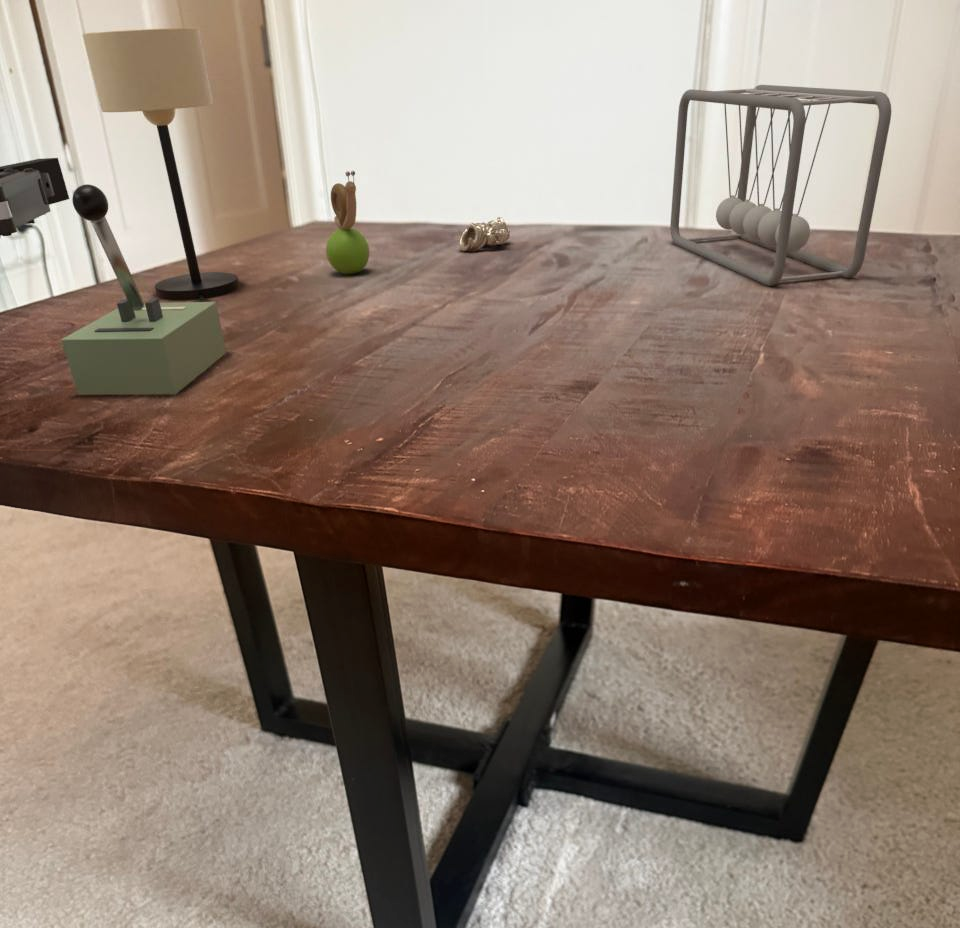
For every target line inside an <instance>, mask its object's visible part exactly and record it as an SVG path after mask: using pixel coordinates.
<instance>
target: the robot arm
mask: <svg viewBox="0 0 960 928" xmlns="http://www.w3.org/2000/svg"><path fill="white" fill-rule="evenodd" d="M67 200H70V196H69V192H68V189H67V185H66V182H65V179H64V174H63V171H62V168H61V164H60V160H59V157H47V158H35V159H31V160H26V161H21V162H16V163H11V164H7V165H1V166H0V236H2V237H10V236H12V235H13V234H15V233H17V232H18V228H19V227H22V226H23V225H29V224H33V225H35V224H36V221H35V220H36V219H37V218H40V217H42V216H45V215H46V214H48V213H50V212H51V208H50V205H53V204H58V203H61V202H64V201H67Z"/></svg>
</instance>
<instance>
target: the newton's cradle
mask: <svg viewBox="0 0 960 928" xmlns="http://www.w3.org/2000/svg"><path fill="white" fill-rule="evenodd" d="M691 101H695V102H704V103H713V104H722V105H724V120H725V121H724V122H725V139H726V157H727V159H726V160H727V176H728V191H729V192H728V193H729V197H726V198H724V199H723V200H722V201H721V202H720V203H719V204H718V206H717V208H716V212H715V220H716V222H717V224H718V226H720V228H722V229H724V230H728V231H730V230H732V231H733V232H734V233H732V234H722V235H710V236H699V237H687V238H685V237H683V236H681V233H680V217H681V216H680V215H681V202H682V191H683V189H682V188H683V177H684V165H685V164H684V163H685V152H686V150H685V149H686V137H687V123H688V112H689V111H688V110H689V105H690V102H691ZM849 103H851V104H862V105H875V106H877V108H878V121H877V125H876V131H875V137H874V143H873V148H872V153H871V158H870V164H869V170H868V176H867V180H866V185H865V192H864V197H863V202H862V208H861V213H860V219H859V223H858V224H859V225H858V229H857V235H856V241H855V245H854V252H853V255H852V262H851V264H850V265H849V266H847V265H843V264H840V263H838V262H835V261H831V260H829V259H827V258H824V257H821V256H818V255H815V254H812V253H810V252H807V251H804V250H801V249H803V248H804V247H805V246H806V244H807V242H809V239H810V236H811V229H810V227H811V226H810V224H809V222H808V220H806V219H805V217H803V216H801V215H800V212H801V208H802V205H803V201H804V197H805V194H806V191H807V187H808V184H809V181H810V177H811V174H812V170H813V168H814V167H813V166H814V163H815V159H816V156H817V153H818V150H819V145H820V142H821V138H822V135H823V132H824V129H825V125H826V122H827V117H828V114H829V111H830V108H831V105H833V104H834V105H835V104H849ZM727 105H732V106H733V105H734V106H738V116H739V117H738V118H739V120H738V121H739V137H740V138H739V140H740V141H739V142H740V159H741V160H740V161H741V162H740V170H739V171H740V172H739V179H738V183H737V187H736V191H735V194H734V195H732V193H731V191H732V190H731V173H730V160H729V159H730V156H729V155H730V153H729V138H728V137H729V135H728V119H727ZM818 105H828V106H827V109H826V112H825V116H824V120H823V123H822V127H821V130H820V134H819V137H818V142H817V144H816V148H815V151H814V154H813V158H812V161H811V166H810V168H809V173H808V176H807V179H806V183H805V186H804V189H803V193H802V197H801V200H800V204H799V207H798V210H797V213H794V206H795V197H796V193H797V184H798V179H799V172H800V171H799V170H800V165H801V163H800V162H801V158H802V150H803V142H804V137H805V129H806V124H807V120H808V116H809V113H810V109H811V106H818ZM741 106H744V107H746V115H745V125H744V132H743V133H744V135H742V116H741V115H742V114H741ZM806 106H808V109H807V112H806V110H805V107H806ZM760 108H761V109H770V121H769V125H768V128H767V132H766V135H765V139H764V143H763V146H762V149H761V150H762V151H761V154H760V157H758V133H757V119H758V115H759V112H760ZM775 110H780V111H787V119H786V123H785V126H784V131H783V133H782V136H781V137H782V138H781V141H780V145H779V148H778V151H777V155H776V159H775V161H774V132H773V131H774V129H773V118H774V114H775ZM791 113H792V119H793V121H792V122H793V123H792V130H791ZM677 116H678V117H677V127H676V142H675V157H674V170H673V183H672V184H673V185H672V198H671V209H670V210H671V212H670V224H669V225H670V227H669V228H670V230H669V231H670V236H671V237H670V238H671V240H672V242H673V244H675V245H676V246H678V247H680V248H682V249H685V250H686V251H689V252H692V253H694V254H696V255H698V256H700V257H703V258H704V259H707V260H709V261H711V262H713V263H716V264H718V265H720V266H722V267H724V268H727V269H728V270H731V271H734V272H735V273H737V274H740V275H741V276H744V277H746V278H749V279H751V280H753V281H755V282H758V283H760V284H762V285H764V286H767V287H774V286H776V285H778V283H779V282H789V281H798V280H806V279H807V280H808V279H818V278H826V277H827V278H828V277H836V276H837V277H838V276H839V277H842V278H845V279H852V278H853V277H855V276H856V275H857V274H858V273H859V272H860V271H861V268H862V267H863V264H864V261H865V256H866V250H867V246H868V245H867V244H868V241H869V235H870V230H871V224H872V219H873V213H874V209H875V203H876V200H877V199H876V198H877V193H878V189H879V188H878V187H879V182H880V177H881V174H882V173H881V172H882V166H883V163H884V156H885V151H886V146H887V140H888V136H889V130H890V129H889V128H890V125H891V119H892V104H891V101H890V98H889V96H888V95H887V94H886V92H885V93H884V92H882V91H875V90H859V89H858V90H857V89H842V88H841V89H840V88H827V87H826V88H825V87H809V86H808V87H807V86H806V87H805V86H792V85H775V84H758V85H756V86H755V87H754V88H742V89H741V88H740V89H727V90H705V89H704V90H701V89H693V88H690V89H687V90H685V92H684V93H682V95H681V97H680V101H679V105H678V113H677ZM787 127H788V151H789V154H788V159H787V160H788V162H787V169H786V176H785V182H784V183H785V184H784V189H783V194H782V198H781V201H780V205H779V207H777V208H776V207H775V205H776V204H775V201H776V199H775V170H776V166H777V164H778V163H777V162H778V160H779V156H780V153H781V149H782V146H783V145H782V144H783V142H784V138H785V134H786V131H787ZM791 131H792V132H791ZM769 133H770V135H771V137H770V139H771V141H770V143H771V176H770V180H769V184H768V187H767V190H766V195H765V198H764V202H763V203H760V188H759V169H760V165H761V162H762V158H763V154H764V150H765V147H766V144H767V140H768V136H769ZM754 137H755V138H754ZM753 140H755V164H756V165H755V169H756V172H755V176H754V179H753V183H752V187H751V191H750V194H749V198H748V199H747V193H748V184H749V175H750V165H751V158H752V150H753ZM758 158H759V159H758ZM758 160H759V161H758ZM755 184H756V190H757V193H756V194H757V204H756V203H754V202H752V201H751V198H752V194H753V192H754V188H755ZM771 185H772V209H773V210H772V209H771V208H770V207H768V206H766V202H767V199H768V196H769V191H770V188H771ZM799 215H800V216H799ZM729 238H740V239H741V240H744V241H747V242H749V243H752V244H754V245H757V246H760V247H763V248H765V249H768V250H770V251H773V252H775V255H774V264H773V269H772V272H771V274H769V273H767V272H764V271H762V270H760V269H757V268H755V267H752V266H751V265H748V264H746V263H743V262H741V261H739V260H736V259H734V258H732V257H729V256H728V255H725V254H722V253H720V252H718V251H715V250H714V249H710V248H709V247H706V246H703V245H702V244H699V243H697V242H699V241H708V240H719V239H729ZM787 257H788V258H791V259H794V260H797V261H799V262H801V263H805V264H807V265H810V266H812V267H814V268H818V269H820V270H823V271H825V272H823V273H812V274H811V273H810V274H803V275H802V274H801V275H792V276H783V275H784V271H785V268H786V261H787Z"/></svg>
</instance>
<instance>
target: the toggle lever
mask: <svg viewBox="0 0 960 928" xmlns="http://www.w3.org/2000/svg"><path fill="white" fill-rule="evenodd" d="M71 198H72V199H71V201H72V205H73V208H74V210H75V212H76V213H77V214H78V216H80V217H81V218H83V219H84V220H86V221H88V222H89V221H90V223H91V226H92V228H93V230H94V232H95V234H96V236H97V238H98V241H99V244H100V245H101V248H102V249H103V251H104V253H105V255H106V258H107V260H108V262H109V264H110V267H111V268H112V270H113V272H114V276H116V279H117V282H118V284H119V285H120V287H121V290H122V292H123V294H124V296H125V299H127V301H128V303H129V305H130V307H131V308H132V309H133V310H136V311H139V310H141V309H142V308H143V306H144V303H145V301H144V299H143V298H142V295H141V293H140V291H139V288H138V287H137V283H136V282H135V279H134V278H133V275H132V273H131V271H130V269H129V267H128V264H127V262H126V260H125V257H124V255H123V253H122V251H121V249H120V247H119V244H118V242H117V240H116V237H115V236H114V232H113V230H112V228H111V227H110V224H109V222H108V220H107V217H106V216H107V214H108V212H109V202H108V198H107V196H106V194H105V193H104V192H103V190H102V189H100V188H99V187H97V186H96V185H92V184H88V183H87V184H82V185H81V184H80V185H79V186H78V187H77V188H75V190H74V192H73V193H72V197H71Z"/></svg>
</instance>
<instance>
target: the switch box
mask: <svg viewBox="0 0 960 928" xmlns="http://www.w3.org/2000/svg"><path fill="white" fill-rule="evenodd" d="M116 306H117V308H116V309H113V310H112V311H110V312H109V313H107V314H105V315H102V316H100V317H99V318H97V319H95V320H94V321H91V322H90V323H88V324H87V325H84V326H83V327H81V328H79V329H78V330H75V331H74V332H72V333H70V334H69V335H67V336H65V337H63V338H61V339H60V342H61V345H62V348H63V351H64V354H65V358H66V360H67V364H68V366H69V370H70V373H71V376H72V379H73V383H74V385H75V389H76V392H77V395H78V396H79V395H81V396H85V395H86V396H94V395H96V396H97V395H99V396H100V395H101V396H103V395H104V396H105V395H110V396H111V395H115V396H116V395H119V396H121V395H123V396H124V395H177V394H178V393H179V392H180V391H181V390H183V389H184V388H185V387H186V386H188V385H189V384H190V383H191V382H192V381H194V380H195V379H196V378H197V377H199V376H200V375H202V373H204V372H205V371H206V370H207V369H209V368H210V367H211V366H212V365H213V364H215V363H216V362H217V361H218V360H219V359H221V358H222V357H224V356H225V355H226V354H227V349H226V344H225V340H224V335H223V330H222V329H223V328H222V325H221V324H222V323H221V320H220V316H219V310H218V306H217V302H216V301H206V302H200V301H191V302H190V301H186V302H185V301H183V302H181V301H179V302H160V298H159V297H155V298H154V297H153V298H150V299H149V300H147V301H144V306H143V308H142V309H141V310H139V311H136V310H133V309H132V308H131V307H130V305H129V303H128V301H127V298H124V299H122V300H120V301H117V303H116Z"/></svg>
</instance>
